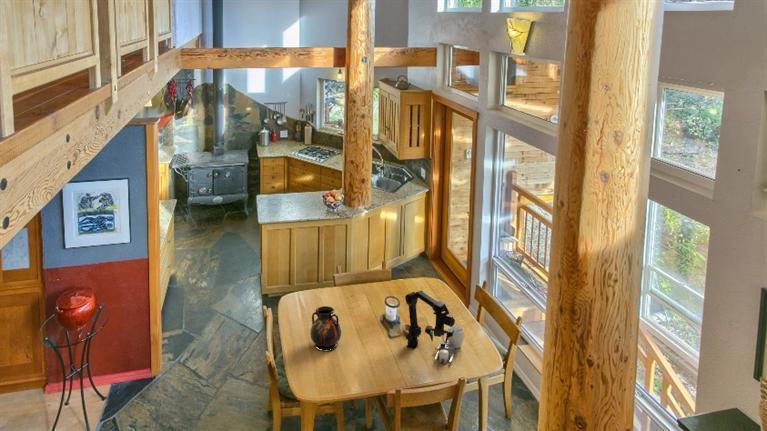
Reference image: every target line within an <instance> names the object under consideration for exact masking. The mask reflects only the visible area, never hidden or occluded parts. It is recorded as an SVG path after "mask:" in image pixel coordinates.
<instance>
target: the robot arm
mask: <svg viewBox="0 0 767 431" xmlns="http://www.w3.org/2000/svg"><path fill="white" fill-rule="evenodd" d="M419 299H420V300H421V301H422V302H424V303H425V304H427V305H429V307H431V308H432V310H433V312H432V314H433V315H435V324H434V325H435V326H434V328H433V326H432V325H426V326H425V329H424V333H425V334H427V335H429V338H430V341H431V342H433V340H434V337H439V338H442V335H444V336H445V334H444V333H447V334H446V336H445V341H446V342H448V338H449V337H452V336H453V334H454V330H453V329H445V325H446V326H447V327H452V326H455V323H456V320H455V318H454V316H452V315H450V312H449V311H450V310H448V308H447V305H446V304H445V303H444V302H442V301H440V300H435V299H434V298H433V297H431V296H430V295H428V294H426V293H425V292H424V290H419V291H417V292H415V291H412V292H410V293H408V294H406V295H405V303H406V305H407V306H408V312H409V324H410V325H409V327H408V333H407V334H406V335H405V339H406V340H407V346H406V347H407V348H410V349H411V348H412V349H417V347H418V345H419V339H418V338H419V337H420V335H421V334H422V327H421V326H419V324H418V314H417V313H418V312H417V304H418V300H419ZM446 342H445V344H447V343H446Z"/></svg>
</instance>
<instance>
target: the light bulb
mask: <svg viewBox="0 0 767 431" xmlns="http://www.w3.org/2000/svg"><path fill="white" fill-rule="evenodd" d="M438 351H439V350H438ZM448 353H449V352H448V351H447V350H440V351H439V357H438V359H439V360H438V362H439V363H440V364H443V365H444V364H445V365H446V364H447V363H449V359H448Z"/></svg>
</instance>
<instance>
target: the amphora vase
mask: <svg viewBox="0 0 767 431" xmlns="http://www.w3.org/2000/svg"><path fill="white" fill-rule="evenodd" d="M315 315H316V316H317V318H316V319H315ZM334 317H335V318H334ZM339 322H340V320H339V316H338V315H337V314H336V313H335V309H334V308H333V307H332V306H328V305H326V306H319V307H317V308H316V309H315V310H314V312H313V313H312V315H311V323H312V325H311V328H310V331H309V332H310V333H309V334H310V338H311V341H312V343H314V344H315V345H314V347H315V346H316V347H318V348H319V349H322V350H330V349H331V351H333V350H332V349H334V348H335V349H336V348H338V346H339V341H340V339H341V337H342V329H341V325H340V324H339ZM335 349H334V350H335Z"/></svg>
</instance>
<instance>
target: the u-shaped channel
mask: <svg viewBox="0 0 767 431" xmlns="http://www.w3.org/2000/svg"><path fill="white" fill-rule="evenodd" d="M455 349H456V348H455V345H453V344H448V343H446V344H445V342H444V341H441V342H440V343H439V345H438V346H435V347H434V350H435V351H437V352H436V354H435V357H434V364H437V362H438V361H439V360H438V359H439V351H440V350H447V351H448V352H449V353H448V360H449V361H448V363H449V366H452V363H453V360H454V358H455V353H456V350H455Z"/></svg>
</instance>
